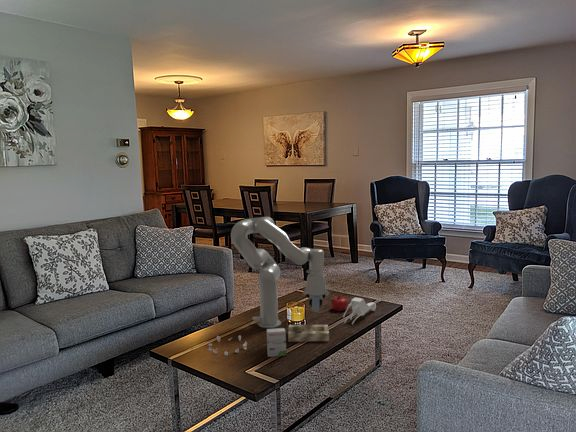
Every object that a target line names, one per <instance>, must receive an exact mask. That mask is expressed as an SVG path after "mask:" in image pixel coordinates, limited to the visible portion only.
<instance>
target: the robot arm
mask: <svg viewBox="0 0 576 432" xmlns="http://www.w3.org/2000/svg"><path fill="white" fill-rule="evenodd" d="M250 234H260V235H261V236H262V237H264V238H265V239H267V241H269V242H270V243H271V244H274V245H275V246H276V248H277V249H278V250H279V251H280V252H281V253H282V254H283V256H285V257H286V258H287V259H288V260H290V261H292V262H293V263H295V264H296V265H299V266H301V265H305V264H306V263H307V262H309V265H308V266H309V268H308V270H306V273H307V278H306V287H305V288H304V290H303V291H302V294H303V295H304V296H305V297H306V298H307V299H308V302H309V303H308V304H309V306H310V308H312V295H320V306H319V308H321V306H322V305H323V300H324V299H325V298H326V297H327V296H329V295H330V292H329V290H328V289H327V285H326V284H327V282H326V275H325V274H324V273H325V270H324V269H325V266H324V265H325V251H324V250H323V249H320V248H310V247H304V246H303V247H300V248H299V247H298V246H296V245H295V244H293V242H292V241H291V240H290V238H289V236H288V234H287V232H286V231H284V230H283V229H281V228H280V227H279V226H277V225H276V224H275V221H274V219H273V218H271V217H270V216H260V217H252V218H245V219H243V220H239V221H237V222H236V223H235V224H234V225H233V227H232V228H231V231H230V240H231V241H232V244H233V245H234V247H235V248H236V249H237V251H238V252H239V254H240V255H241V256H242V257H243V259H244V260H245V261H246V263H247V264H248V265H249V267H250V268H251V269H254V270H258V269H259V270H260V271H259V274H258V277H257V279H258V280H257V281H258V287H259V306H260V307H259V309H260V310H259V311H260V312H259V313H260V314H259V315H258V316H253V317H252V318H251V319H252V321H253V322H257V326H258V327H260V328H262V329H276V328H278V327H280V326H281V325H282V322H281V320H280V319H279V308H278V307H279V306H278V305H279V303H278V300H279V299H278V286H277V280H278V279H279V278H281V277H280V276H281V269H280V267H279V266H278V264H277V262H276V261H275V259H274V258H273V257H272V256H271V255H270V254H269V252H268V251H267V250H265V249H264V248H257V247H256V246H255V245H254V242H252V241H251V240H250V239H249V238H248V235H250Z"/></svg>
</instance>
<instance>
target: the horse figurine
mask: <svg viewBox="0 0 576 432" xmlns="http://www.w3.org/2000/svg"><path fill="white" fill-rule="evenodd" d="M350 308H351V313H350V314H349V315H348V316H347V317H346V318H345V316H346V313H347V311H348V310H349V309H350ZM376 308H377V305H376V303H375V302H372V301H371V302H368V303H366V301H365V298H361V297H356V296H355V297H353V298H352V299H351V300H350V303H348V306H347V308H346V309H345V312H344V313H343V315H342V318H343V319H345V320H344V324H346V323H347V321H348V319H350V320H352V318H353V316H354V315H356V317H355V318H354V319H353V321H352V322H351V325H352V326H353V325H354V323H355V321H356V320H357V319H358V318H359V317H360V316H361V317H362V316H365V315H366V313H368V312H369V311H370V310H371V311H372V312H375V311H376Z"/></svg>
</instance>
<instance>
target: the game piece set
mask: <svg viewBox="0 0 576 432" xmlns="http://www.w3.org/2000/svg"><path fill="white" fill-rule="evenodd" d="M237 338H238V340H239V342H241V340H242V336H241V334H240V335H238V337H237ZM216 339H217V342H218V343H220V341H221V337H220V336H219V335H217V336H216ZM231 340H232V338H228V340H227V341H231ZM212 343H213V341H210V343H208V344H207V345H208V348H207V351H208V352H211V351H212V353H213V354H215V355H216V354H217V353H218V351H217V350H218V348H216V349H214V348H213V349H212V347H213V344H212ZM247 345H248V342H247V341H246V340H245V342H244V343H243V344H242V347H243V350H247V348H248V347H247ZM234 352H235V353H237V354H238V353H239V352H240V349H239V348H237V349H235V350H234ZM217 355H218V354H217ZM223 356H229V352H228V351H224V353H223Z"/></svg>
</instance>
